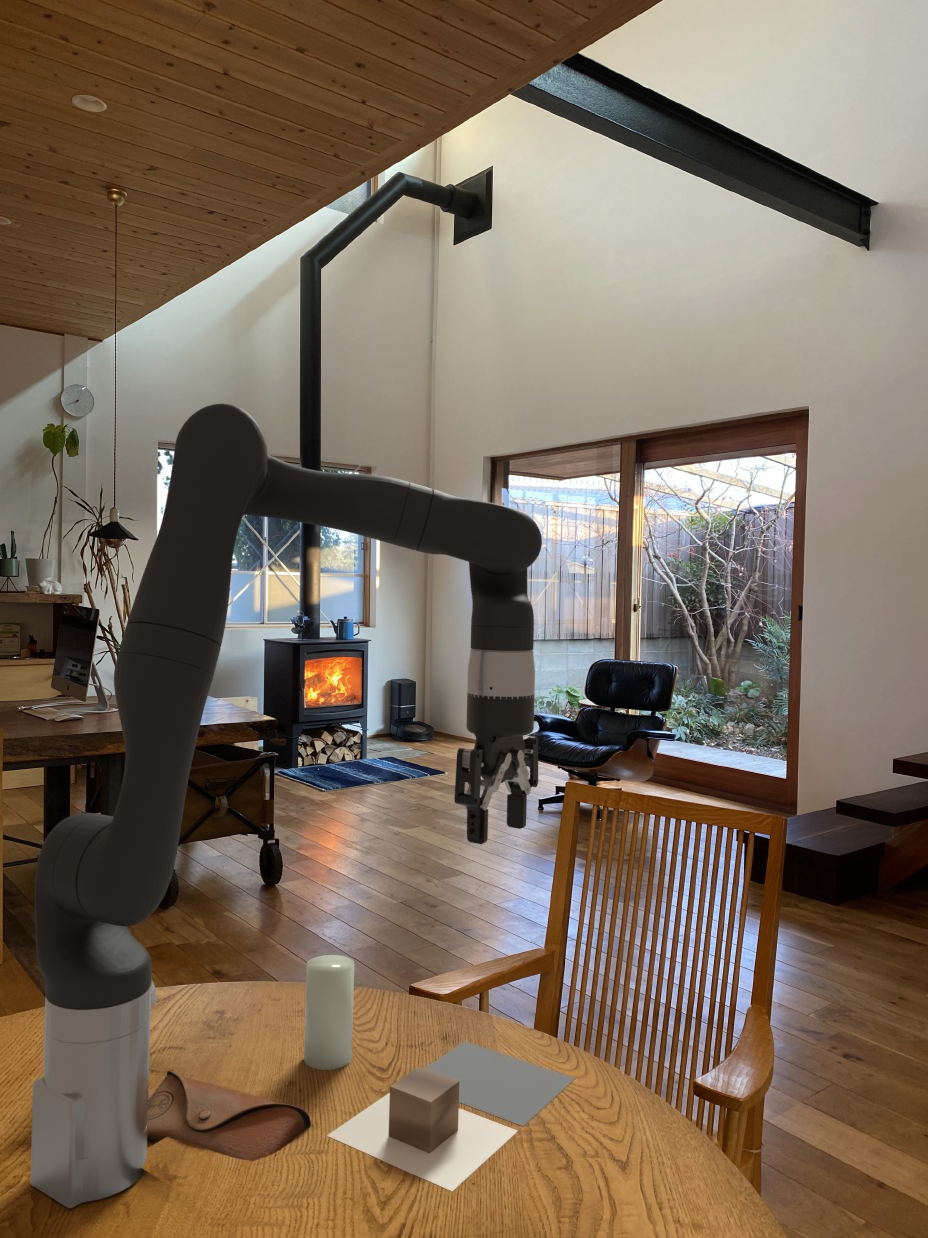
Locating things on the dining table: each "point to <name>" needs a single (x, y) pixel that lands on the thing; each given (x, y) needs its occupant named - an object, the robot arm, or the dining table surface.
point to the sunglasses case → (221, 1118)
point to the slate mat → (500, 1082)
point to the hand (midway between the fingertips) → (497, 834)
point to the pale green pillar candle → (329, 1012)
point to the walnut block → (424, 1109)
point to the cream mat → (438, 1167)
